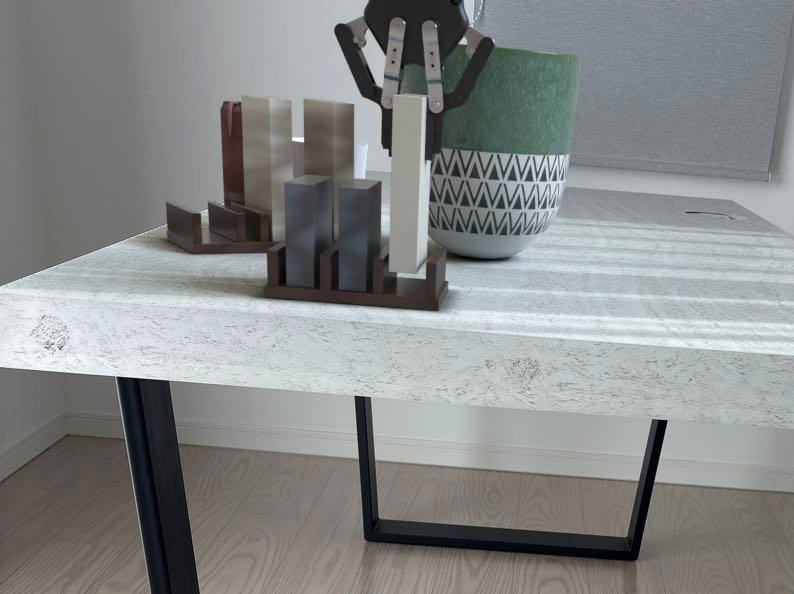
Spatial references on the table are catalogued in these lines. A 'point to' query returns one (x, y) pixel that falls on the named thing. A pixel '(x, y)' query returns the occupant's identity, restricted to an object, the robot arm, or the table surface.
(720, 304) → the table surface
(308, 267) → the desk organizer with blocks
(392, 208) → the white book
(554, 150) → the planter
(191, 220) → the brown book rack
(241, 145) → the dark red upright block
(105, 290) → the table surface
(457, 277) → the table surface
